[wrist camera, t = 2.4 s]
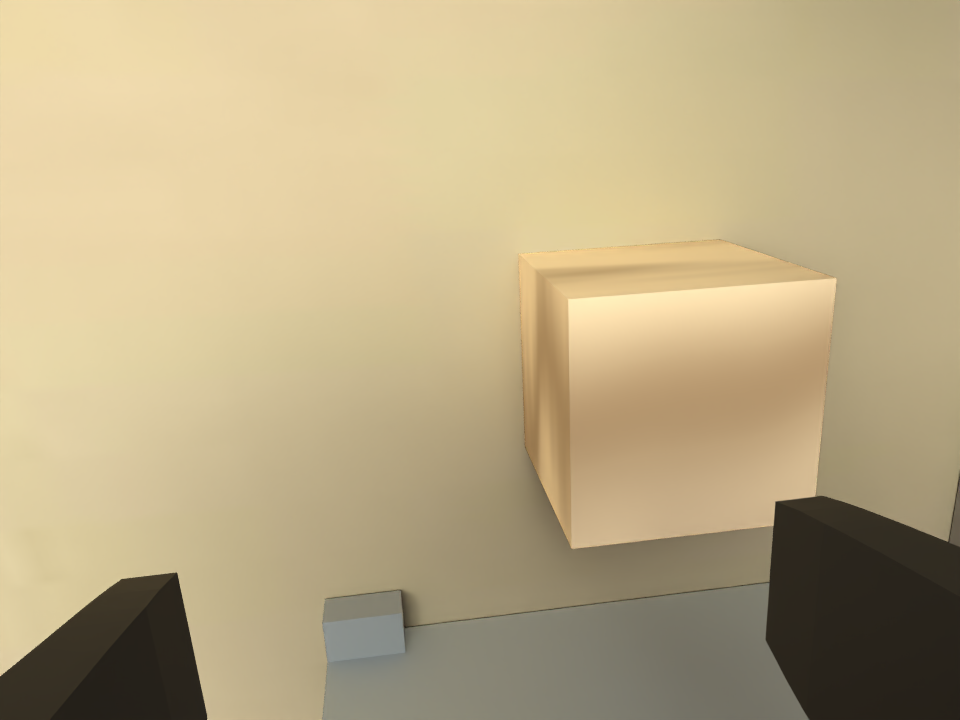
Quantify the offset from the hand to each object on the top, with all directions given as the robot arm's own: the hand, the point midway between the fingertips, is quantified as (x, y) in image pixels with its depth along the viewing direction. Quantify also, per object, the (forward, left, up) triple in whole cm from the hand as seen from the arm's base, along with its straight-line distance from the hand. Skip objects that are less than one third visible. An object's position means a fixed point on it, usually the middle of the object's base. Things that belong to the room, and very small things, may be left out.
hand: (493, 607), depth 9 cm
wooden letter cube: (0, -5, -10) cm, 11 cm away
